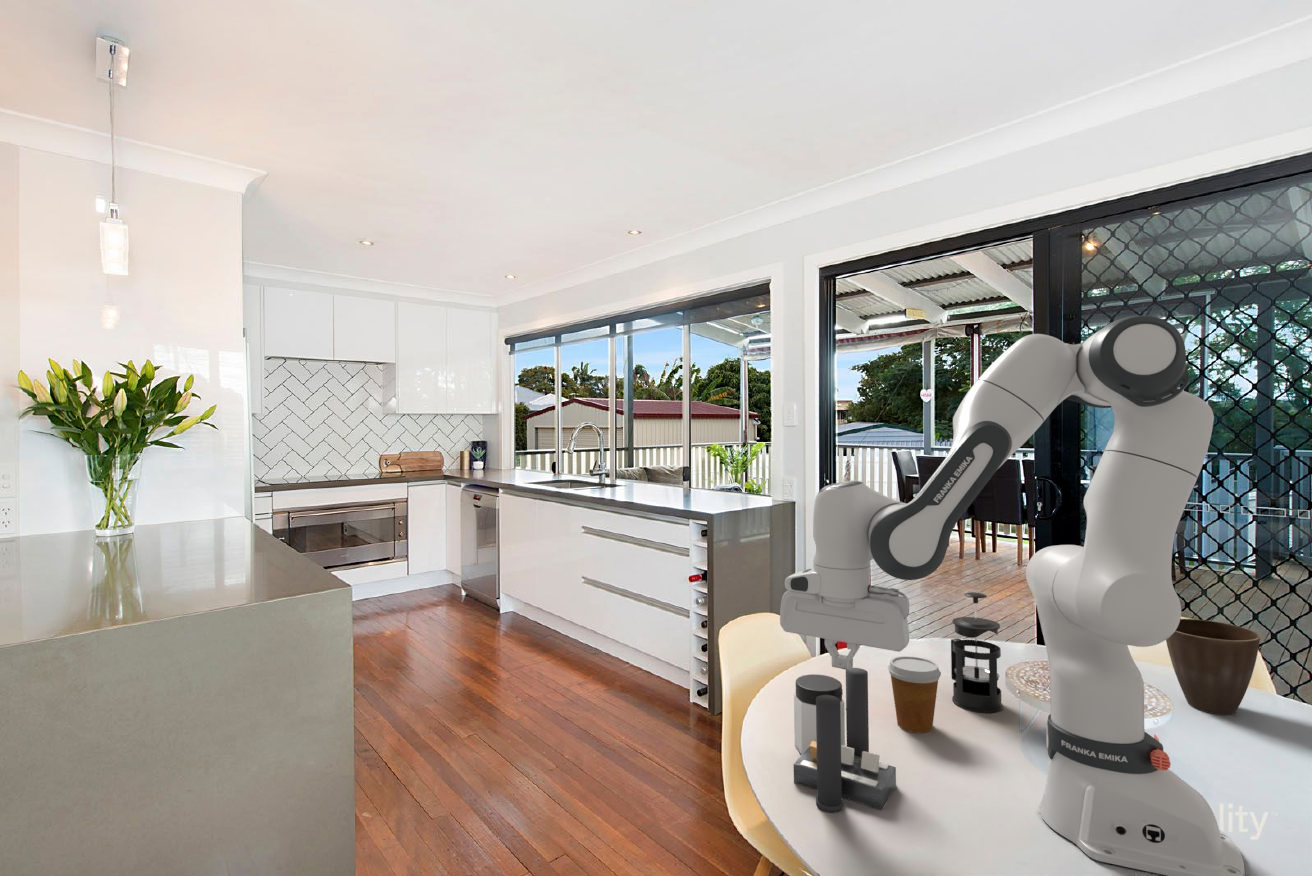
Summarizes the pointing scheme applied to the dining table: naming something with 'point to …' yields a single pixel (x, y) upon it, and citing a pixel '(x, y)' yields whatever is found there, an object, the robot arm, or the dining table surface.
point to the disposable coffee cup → (914, 692)
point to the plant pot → (1213, 663)
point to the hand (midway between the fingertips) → (842, 667)
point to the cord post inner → (857, 710)
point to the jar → (813, 707)
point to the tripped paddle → (813, 749)
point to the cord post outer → (828, 754)
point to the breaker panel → (852, 780)
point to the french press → (975, 682)
